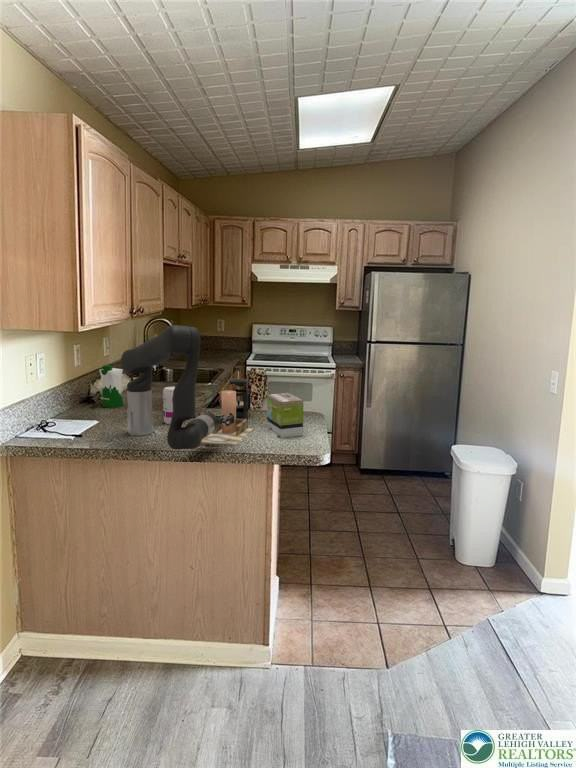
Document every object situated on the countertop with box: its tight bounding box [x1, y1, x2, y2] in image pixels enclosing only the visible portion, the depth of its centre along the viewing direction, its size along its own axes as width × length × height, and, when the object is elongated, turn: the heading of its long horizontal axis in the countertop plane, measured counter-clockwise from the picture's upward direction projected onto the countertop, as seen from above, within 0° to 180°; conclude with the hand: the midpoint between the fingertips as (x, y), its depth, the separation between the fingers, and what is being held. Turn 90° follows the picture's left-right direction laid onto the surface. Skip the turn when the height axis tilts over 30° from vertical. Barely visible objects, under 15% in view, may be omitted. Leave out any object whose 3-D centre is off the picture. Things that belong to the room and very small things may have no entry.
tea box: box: [266, 392, 304, 439], centre depth 214 cm, size 15×10×15 cm, turn 24°
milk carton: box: [99, 364, 124, 409], centre depth 257 cm, size 9×9×20 cm
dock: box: [200, 418, 255, 446], centre depth 207 cm, size 25×16×4 cm, turn 167°
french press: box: [227, 365, 251, 419], centre depth 237 cm, size 12×9×23 cm
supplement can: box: [162, 386, 175, 425], centre depth 228 cm, size 8×8×15 cm
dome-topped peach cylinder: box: [221, 389, 237, 433], centre depth 212 cm, size 8×6×16 cm
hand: (220, 414), depth 201 cm, fingers open, 8 cm apart
